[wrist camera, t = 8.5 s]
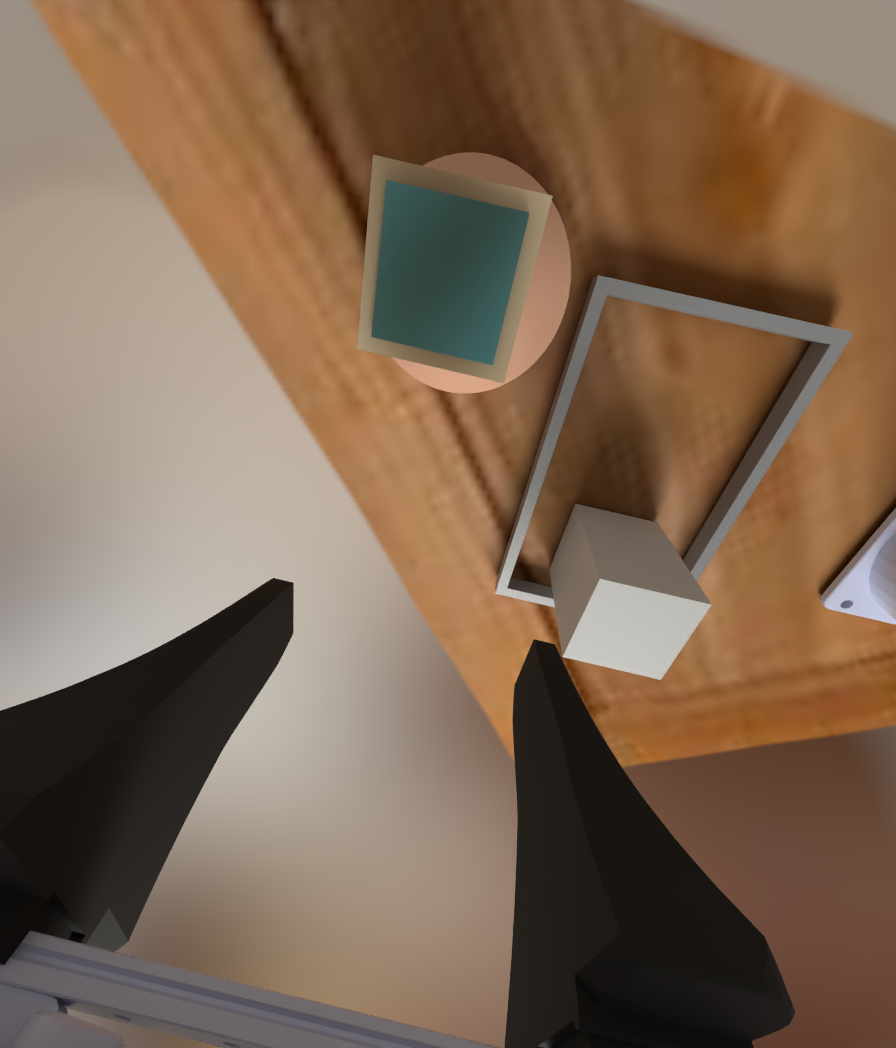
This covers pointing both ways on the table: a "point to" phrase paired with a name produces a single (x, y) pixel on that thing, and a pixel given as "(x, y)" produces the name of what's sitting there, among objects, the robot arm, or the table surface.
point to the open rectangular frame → (755, 461)
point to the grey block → (622, 593)
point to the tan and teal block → (447, 267)
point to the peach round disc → (544, 288)
